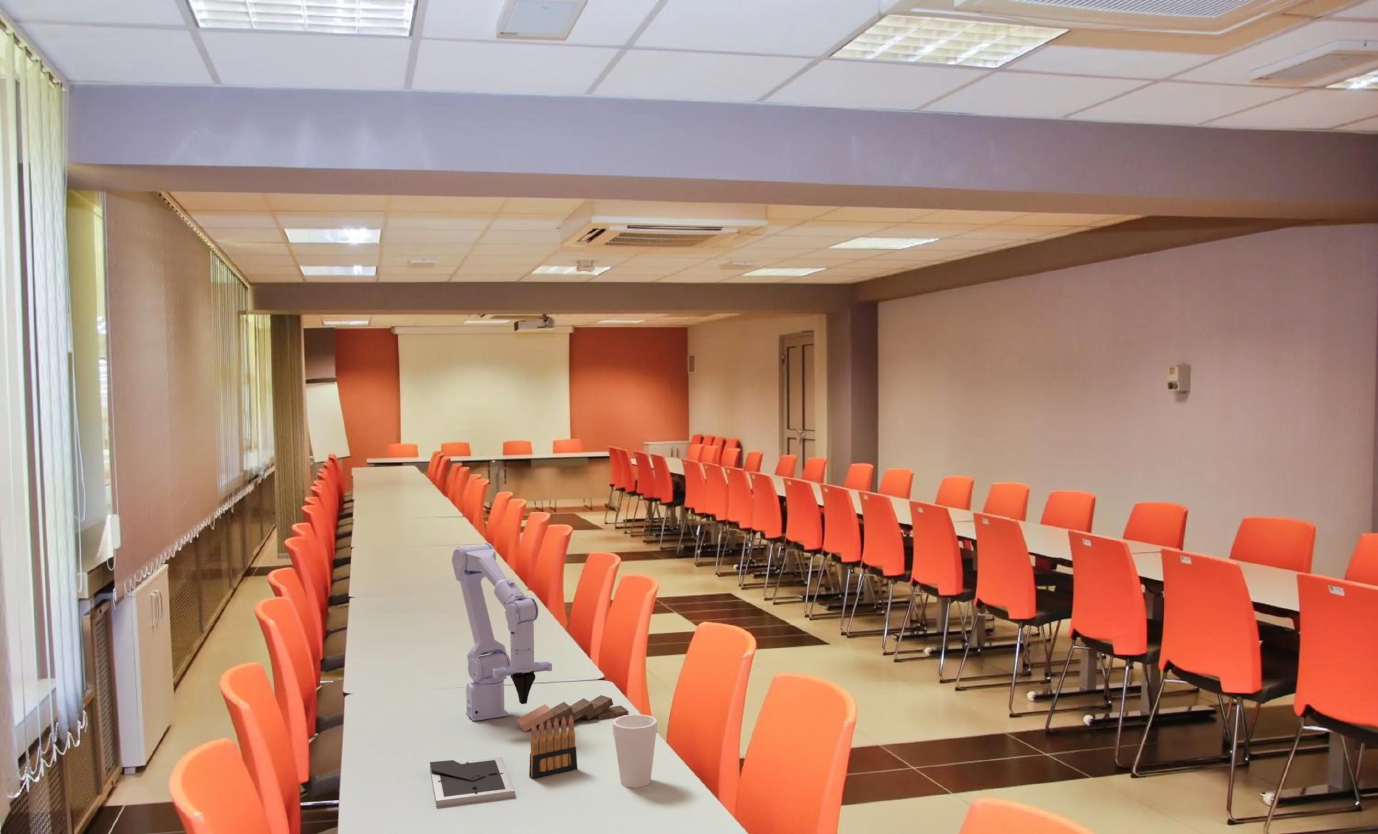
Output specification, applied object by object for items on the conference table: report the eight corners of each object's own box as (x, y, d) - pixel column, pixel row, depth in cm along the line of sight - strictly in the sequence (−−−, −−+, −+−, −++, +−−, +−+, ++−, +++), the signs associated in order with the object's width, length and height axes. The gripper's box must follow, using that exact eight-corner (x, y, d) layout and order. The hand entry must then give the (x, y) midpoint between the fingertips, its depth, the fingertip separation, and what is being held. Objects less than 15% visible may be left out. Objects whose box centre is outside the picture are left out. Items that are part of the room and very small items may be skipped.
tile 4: (586, 713, 260) (611, 698, 264) (576, 709, 263) (600, 694, 268) (588, 719, 260) (613, 704, 265) (578, 716, 264) (602, 701, 268)
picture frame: (430, 774, 226) (436, 810, 206) (429, 761, 226) (436, 796, 206) (502, 765, 231) (515, 800, 211) (501, 753, 231) (514, 786, 211)
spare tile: (522, 725, 252) (551, 709, 255) (516, 719, 256) (544, 704, 260) (524, 731, 252) (553, 715, 255) (518, 725, 257) (547, 710, 260)
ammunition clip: (532, 779, 221) (531, 724, 221) (529, 776, 222) (528, 721, 222) (577, 769, 227) (576, 715, 226) (573, 766, 228) (573, 713, 228)
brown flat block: (599, 715, 261) (628, 710, 264) (592, 709, 265) (620, 705, 269) (599, 722, 261) (628, 717, 264) (592, 716, 265) (620, 712, 269)
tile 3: (564, 718, 256) (591, 702, 260) (556, 713, 261) (583, 698, 264) (566, 724, 257) (594, 709, 260) (559, 719, 261) (585, 704, 265)
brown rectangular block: (542, 722, 254) (570, 706, 257) (535, 716, 258) (564, 701, 262) (544, 728, 254) (573, 713, 258) (538, 722, 259) (566, 707, 262)
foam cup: (637, 770, 225) (637, 711, 225) (666, 781, 219) (666, 720, 218) (604, 782, 219) (603, 721, 218) (633, 793, 212) (632, 731, 212)
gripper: (497, 655, 247) (498, 711, 248) (555, 648, 253) (556, 702, 254) (490, 648, 254) (491, 703, 254) (546, 642, 260) (547, 695, 260)
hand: (523, 702), depth 254 cm, fingers closed
